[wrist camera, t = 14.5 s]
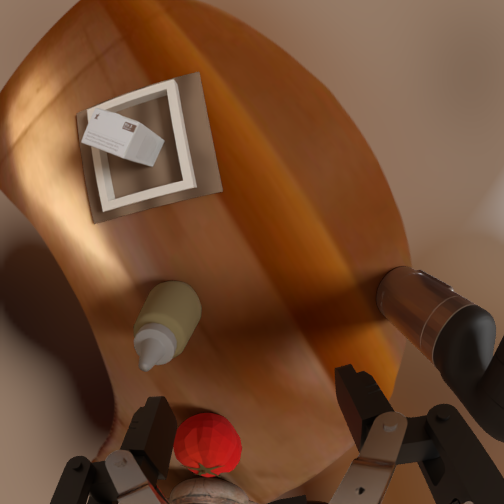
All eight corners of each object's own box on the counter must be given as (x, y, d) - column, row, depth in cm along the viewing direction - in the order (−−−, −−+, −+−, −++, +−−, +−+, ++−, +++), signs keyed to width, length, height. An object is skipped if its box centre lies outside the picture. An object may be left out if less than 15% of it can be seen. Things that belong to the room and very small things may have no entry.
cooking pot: (259, 463, 52) (262, 505, 40) (262, 496, 56) (265, 531, 44) (153, 461, 52) (143, 499, 40) (172, 495, 56) (167, 528, 44)
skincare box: (119, 154, 37) (76, 144, 25) (131, 125, 36) (93, 105, 24) (155, 168, 37) (121, 162, 26) (168, 139, 37) (139, 121, 25)
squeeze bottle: (170, 329, 44) (137, 404, 26) (143, 286, 42) (92, 345, 24) (214, 310, 43) (200, 384, 26) (188, 264, 41) (154, 318, 24)
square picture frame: (177, 84, 35) (173, 79, 32) (196, 187, 38) (194, 187, 36) (94, 113, 35) (87, 109, 32) (110, 210, 38) (102, 211, 36)
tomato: (232, 443, 50) (231, 493, 37) (174, 429, 49) (163, 478, 36) (250, 408, 48) (253, 462, 35) (185, 392, 47) (173, 445, 34)
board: (199, 73, 35) (199, 71, 34) (223, 191, 39) (222, 191, 38) (78, 114, 35) (76, 113, 35) (96, 223, 39) (94, 224, 39)
